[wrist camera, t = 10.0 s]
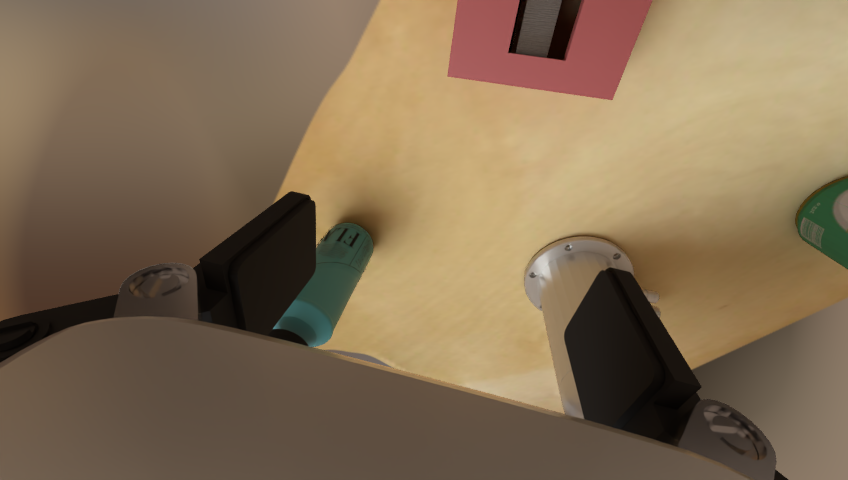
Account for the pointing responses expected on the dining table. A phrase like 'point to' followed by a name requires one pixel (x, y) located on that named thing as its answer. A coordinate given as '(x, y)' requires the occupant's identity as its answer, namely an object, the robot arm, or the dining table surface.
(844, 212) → the beverage can
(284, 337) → the beverage bottle
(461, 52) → the red slotted block
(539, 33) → the grey flat block
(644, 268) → the dining table surface
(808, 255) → the dining table surface
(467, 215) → the dining table surface
